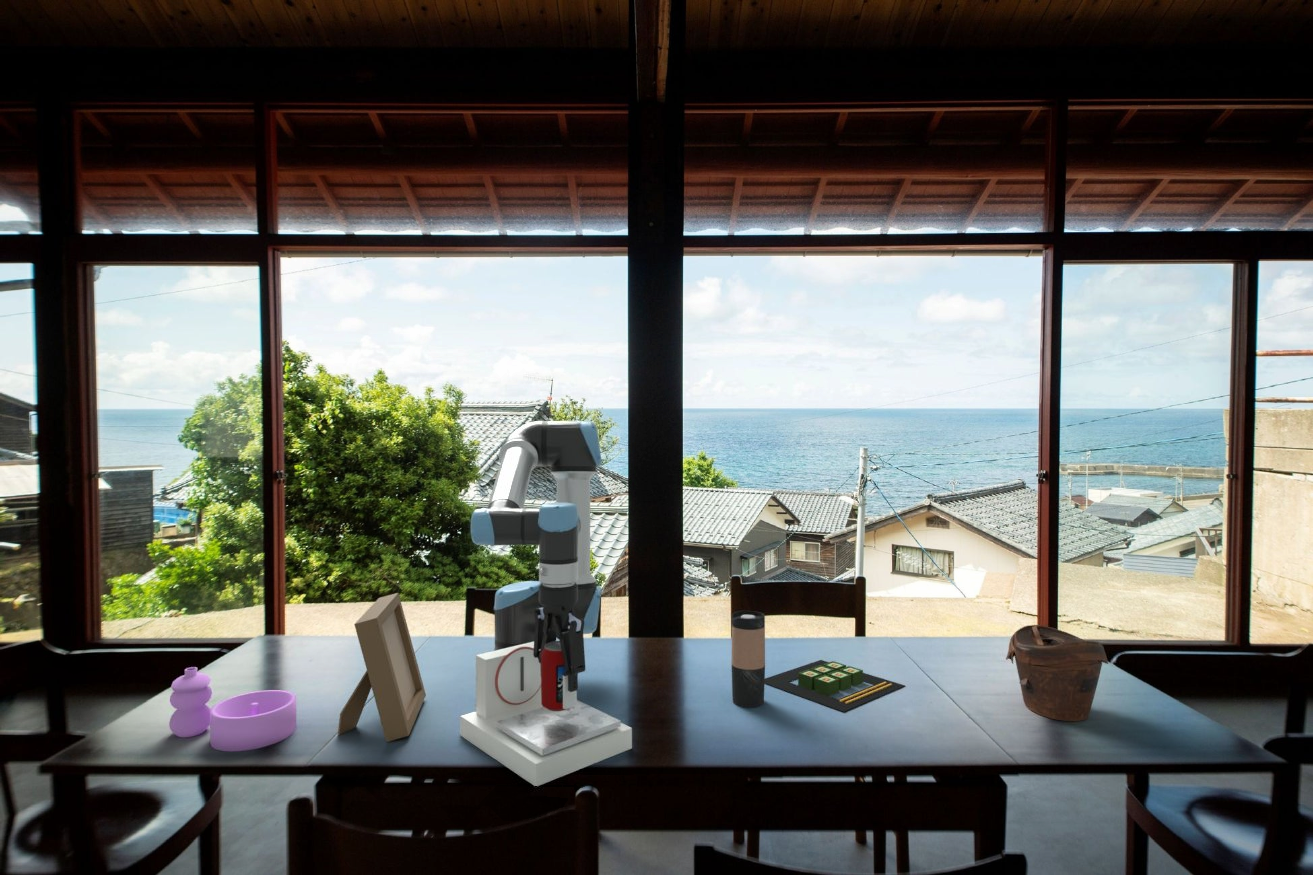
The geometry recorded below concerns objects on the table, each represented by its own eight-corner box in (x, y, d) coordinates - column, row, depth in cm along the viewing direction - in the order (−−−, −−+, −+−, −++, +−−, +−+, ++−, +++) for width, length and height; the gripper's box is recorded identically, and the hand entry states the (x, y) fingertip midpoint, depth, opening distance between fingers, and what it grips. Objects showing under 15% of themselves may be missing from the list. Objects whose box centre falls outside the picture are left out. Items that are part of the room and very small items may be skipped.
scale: (460, 735, 144) (460, 652, 143) (550, 706, 158) (550, 631, 158) (535, 786, 123) (535, 690, 123) (631, 748, 138) (631, 662, 138)
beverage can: (569, 714, 133) (569, 651, 133) (535, 711, 134) (535, 648, 134) (580, 701, 140) (580, 640, 139) (548, 698, 141) (548, 638, 141)
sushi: (843, 715, 155) (843, 698, 155) (758, 684, 174) (758, 669, 174) (905, 689, 171) (905, 673, 171) (820, 662, 190) (820, 649, 190)
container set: (311, 720, 151) (311, 659, 151) (266, 753, 136) (266, 685, 136) (201, 716, 153) (200, 656, 153) (144, 748, 138) (144, 681, 138)
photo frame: (426, 699, 163) (423, 591, 162) (408, 740, 141) (406, 616, 141) (358, 704, 160) (355, 594, 160) (330, 746, 139) (327, 620, 138)
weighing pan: (496, 727, 137) (496, 721, 137) (572, 703, 149) (572, 697, 149) (542, 755, 125) (542, 748, 125) (620, 726, 137) (620, 720, 137)
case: (1020, 686, 171) (1021, 613, 170) (1117, 710, 156) (1118, 630, 156) (992, 708, 158) (993, 629, 158) (1094, 736, 144) (1095, 649, 143)
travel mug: (769, 698, 163) (769, 612, 163) (759, 710, 156) (759, 620, 156) (737, 693, 166) (737, 608, 166) (726, 704, 160) (726, 616, 159)
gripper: (514, 578, 141) (515, 692, 142) (572, 594, 127) (572, 722, 127) (546, 572, 146) (546, 683, 147) (605, 588, 132) (605, 711, 132)
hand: (558, 701), depth 137 cm, fingers closed on beverage can, 7 cm apart
